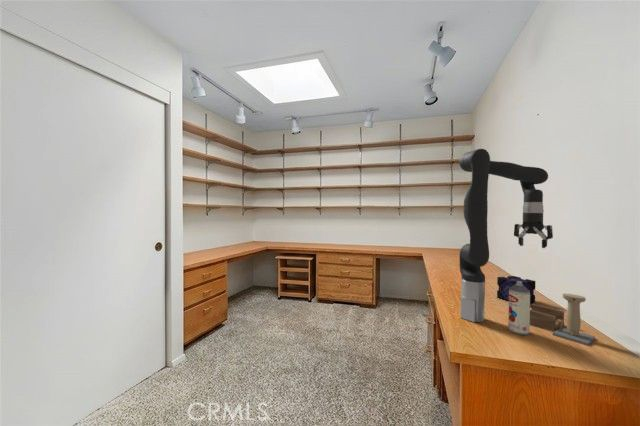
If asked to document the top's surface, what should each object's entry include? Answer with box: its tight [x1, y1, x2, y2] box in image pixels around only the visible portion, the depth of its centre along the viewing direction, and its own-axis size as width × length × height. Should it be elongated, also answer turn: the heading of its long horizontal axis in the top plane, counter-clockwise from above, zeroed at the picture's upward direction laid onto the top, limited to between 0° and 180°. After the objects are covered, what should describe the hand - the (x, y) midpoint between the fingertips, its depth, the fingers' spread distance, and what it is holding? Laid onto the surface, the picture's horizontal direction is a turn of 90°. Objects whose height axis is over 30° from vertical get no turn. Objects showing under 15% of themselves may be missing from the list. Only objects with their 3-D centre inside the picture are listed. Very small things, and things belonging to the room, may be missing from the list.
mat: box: [552, 326, 596, 346], centre depth 103 cm, size 10×10×1 cm
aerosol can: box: [507, 281, 531, 336], centre depth 107 cm, size 7×7×20 cm
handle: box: [562, 293, 586, 336], centre depth 103 cm, size 5×6×15 cm
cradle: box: [530, 303, 565, 333], centre depth 115 cm, size 12×11×6 cm
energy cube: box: [496, 275, 536, 305], centre depth 146 cm, size 12×12×12 cm
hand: (532, 246), depth 125 cm, fingers open, 8 cm apart
